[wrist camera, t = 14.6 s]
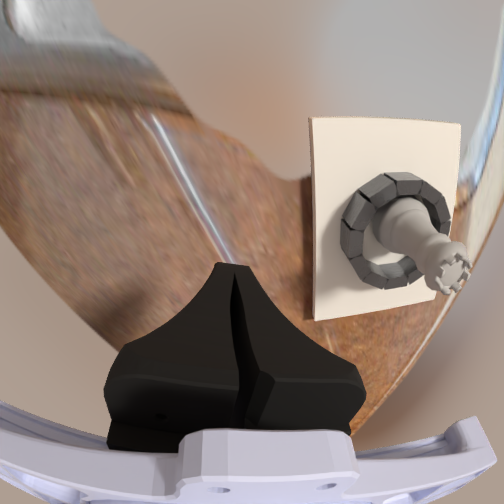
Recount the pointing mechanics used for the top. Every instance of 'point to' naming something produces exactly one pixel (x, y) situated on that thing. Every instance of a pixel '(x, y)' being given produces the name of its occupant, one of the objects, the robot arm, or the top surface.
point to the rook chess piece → (421, 243)
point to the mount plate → (348, 181)
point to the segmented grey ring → (364, 210)
